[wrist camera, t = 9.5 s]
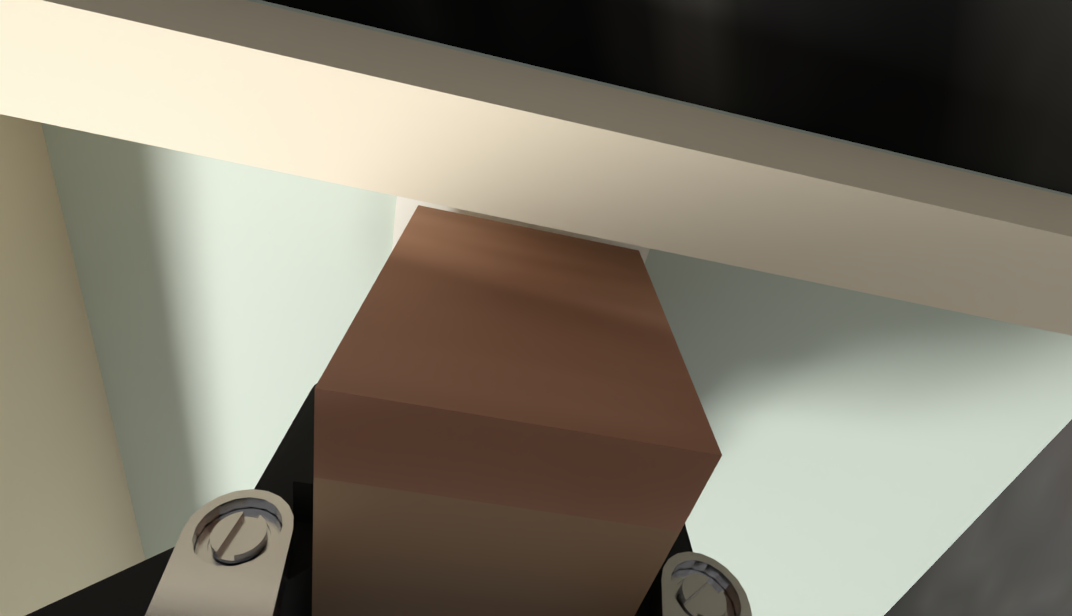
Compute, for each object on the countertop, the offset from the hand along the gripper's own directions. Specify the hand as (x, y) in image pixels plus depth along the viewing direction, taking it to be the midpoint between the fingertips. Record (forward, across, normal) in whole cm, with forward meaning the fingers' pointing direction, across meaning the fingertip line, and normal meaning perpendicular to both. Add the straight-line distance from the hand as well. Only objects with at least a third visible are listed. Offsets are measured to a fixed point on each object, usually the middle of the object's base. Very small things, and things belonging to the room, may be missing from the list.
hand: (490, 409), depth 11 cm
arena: (+2, -2, +5) cm, 5 cm away
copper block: (0, 0, 0) cm, 0 cm away
